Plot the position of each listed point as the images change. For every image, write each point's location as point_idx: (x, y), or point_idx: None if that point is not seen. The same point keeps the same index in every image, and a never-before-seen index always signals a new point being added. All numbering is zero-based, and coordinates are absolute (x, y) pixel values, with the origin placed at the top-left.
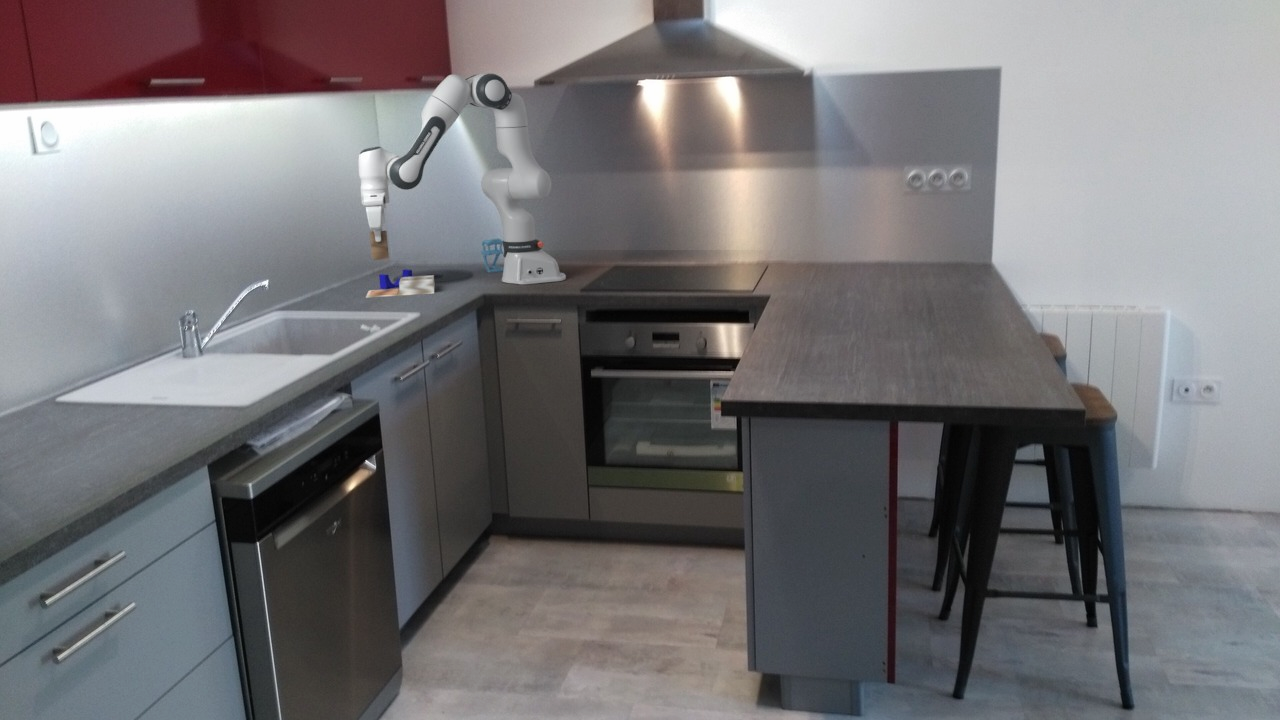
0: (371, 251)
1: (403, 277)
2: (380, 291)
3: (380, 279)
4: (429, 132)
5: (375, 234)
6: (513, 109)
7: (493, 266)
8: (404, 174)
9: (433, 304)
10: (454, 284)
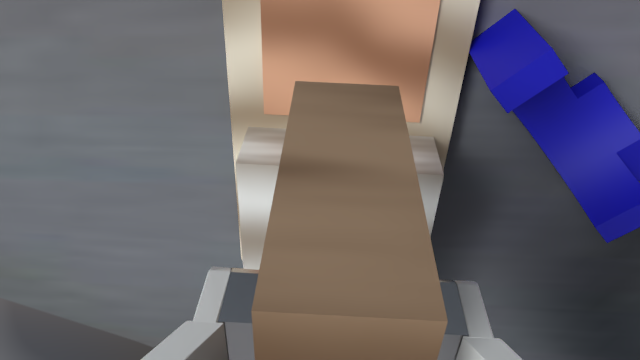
0: (287, 126)
1: (424, 188)
2: (384, 19)
3: (529, 43)
4: None
5: (163, 351)
6: None
7: None
8: None
9: (57, 238)
10: (496, 323)
